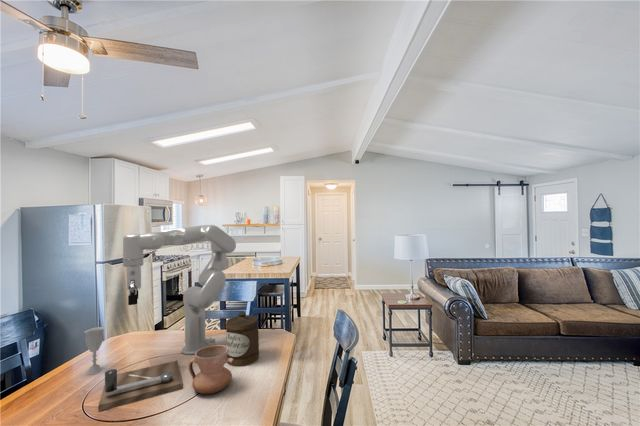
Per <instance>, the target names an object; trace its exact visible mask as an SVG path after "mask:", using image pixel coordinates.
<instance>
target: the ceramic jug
mask: <svg viewBox="0 0 640 426" xmlns="http://www.w3.org/2000/svg"><path fill="white" fill-rule="evenodd" d="M194 355H195V357H192V358H191V359H190V360H189V362H188V372H189V374H190V376H191V378H192V385H191V387H192V389H193V390H194V391H195V392H196V393H198V394H202V395H209V394H215V393H218V392H220V391H222V390H224V389H225V388H227V387H228V386H229V384H230V383H231V382H232V380H233V374H232V371H231V370H230V369H229V368H228V367H225V364H228V363H227V362H230V363H232V361H233V359H232V358H227V355H228V347H227V346H226V345H223V344H215V345H209V346H207V347H203V348H201V349H199V350H197V351H196V353H195V354H194ZM193 363H194V364H197V366H198V369H199V372H198V373H197V374H196V373H195V371H194V367H193Z"/></svg>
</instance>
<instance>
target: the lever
mask: <svg viewBox="0 0 640 426" xmlns="http://www.w3.org/2000/svg"><path fill="white" fill-rule="evenodd" d="M117 374H118V369H116V368H112V369H109V370H107V371H105V372H104V386H105V392H107V396H111V395H114V394H118V393H122V392H126V391H130V390H134V389H138V388H142V387H146V386H150V385H154V384H158V383H166V382H169V381H171V380H172V379H173V372H165V373H163V374H161V376H159V377H154V378H150V379H146V380H142V381H138V382H134V383H130V384H126V385H122V386H118V387H117Z"/></svg>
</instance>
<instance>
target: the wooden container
mask: <svg viewBox="0 0 640 426" xmlns="http://www.w3.org/2000/svg"><path fill="white" fill-rule="evenodd" d="M258 320H259V319H258V317H257V316H256V315H251V314H246V311H243V310H241V311H239V312H238V313H237V316H233V317H230V318H228V319H227V320H226V321H225V333H226V337H225V339H226V340H225V342H226V343H225V344H226V345H225V346H227V347H228V355H227V358H232V359H233V361H232V363H230V362H227V363H226V364H228V365H230V366H233V367H243V366H249V365H251V364H253V363H255V362H256V361H258V360H259V358H260V349H259V348H260V342H259V341H260V340H259V338H260V337H259V321H258Z"/></svg>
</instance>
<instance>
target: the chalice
mask: <svg viewBox="0 0 640 426" xmlns="http://www.w3.org/2000/svg"><path fill="white" fill-rule="evenodd" d="M104 330H105V327H103V326H99V327H98V326H97V327H93V328H90V329H86V330H85V331H84V332H83V333H84V334H85V345H86V348H88V350H89V352H91V353H92V360H91V362H92V364H91V365H92V366H89V368H88V372H87V373H86V374H87V375H90V376H91V375H96V374H98V373H100V372H101V371H102V367H101V366H100V365H99V364H97V361H98V359H97V356H98V355H97V351H99V349H100V348H101V345H102V343H103V340H104Z"/></svg>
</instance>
